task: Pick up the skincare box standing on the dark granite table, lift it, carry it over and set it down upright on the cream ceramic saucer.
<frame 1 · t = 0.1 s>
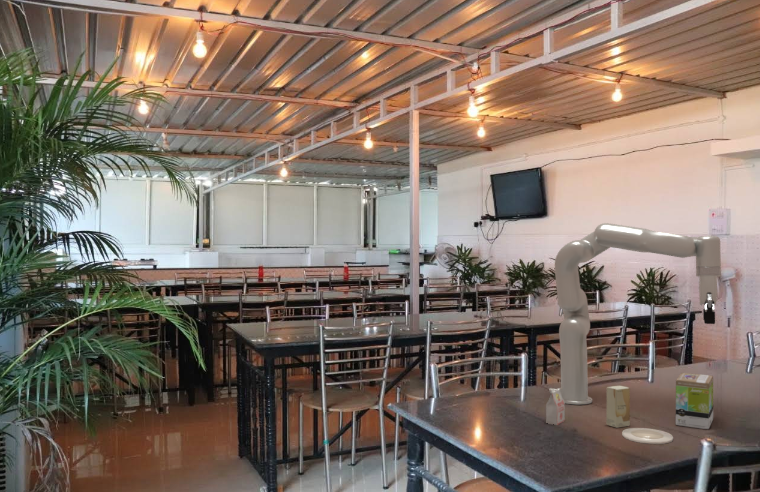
hand: (709, 322, 214), 31 cm above the table, tool pointing down, fingers open, 9 cm apart
white milk carton: (555, 422, 205), on the table
saucer: (647, 437, 187), on the table
skincare box: (618, 426, 200), on the table
tea box: (694, 423, 203), on the table
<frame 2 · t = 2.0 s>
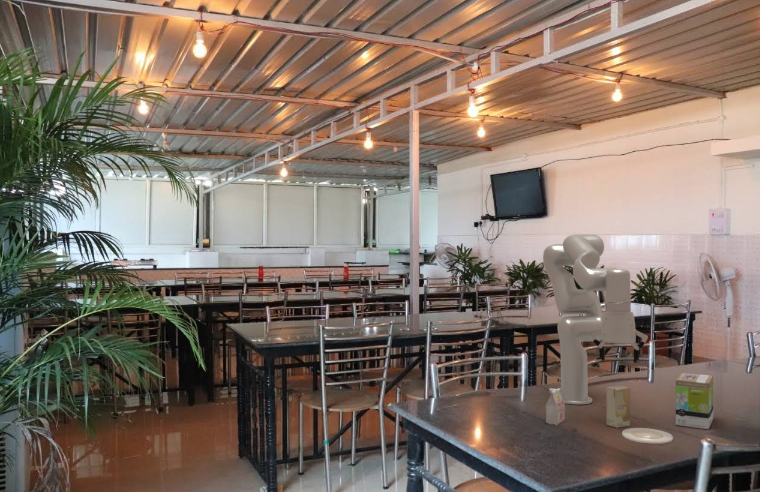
hand: (619, 361, 200), 20 cm above the table, tool pointing down, fingers open, 9 cm apart
nothing on the table moved.
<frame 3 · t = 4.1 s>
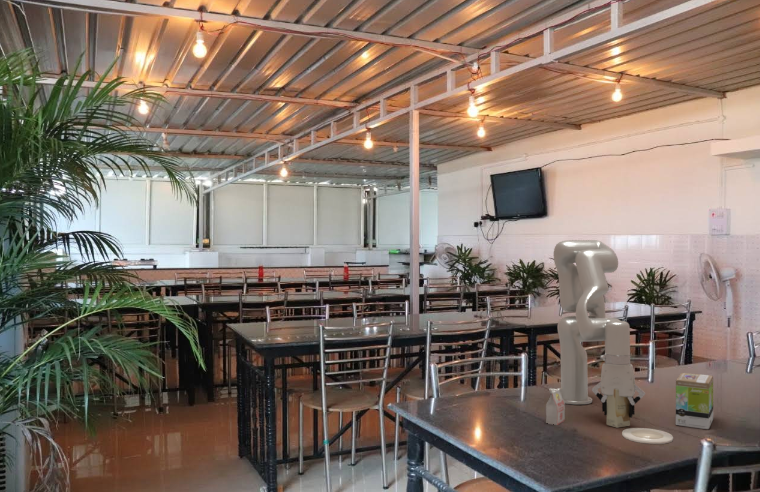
hand: (618, 415, 200), 3 cm above the table, tool pointing down, fingers closed on skincare box, 6 cm apart
skincare box: (618, 426, 200), on the table, touching gripper
everything else where it was.
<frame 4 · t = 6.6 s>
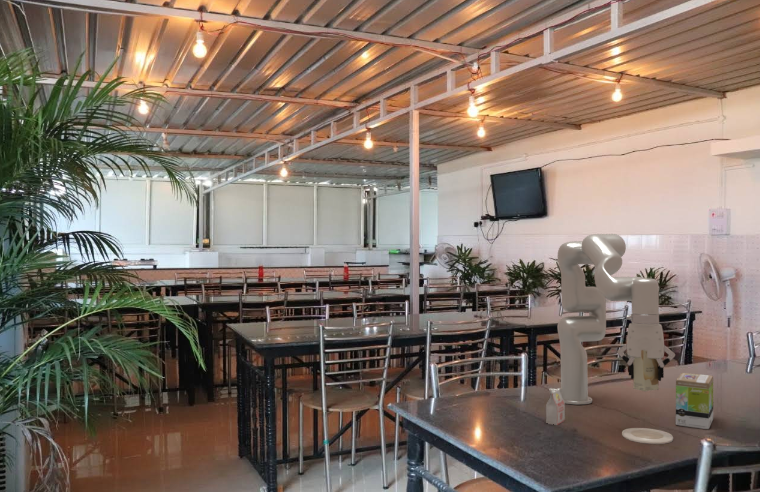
hand: (646, 378, 187), 17 cm above the table, tool pointing down, fingers closed on skincare box, 6 cm apart
skincare box: (646, 390, 187), point 14 cm above the table, touching gripper
everything else where it was.
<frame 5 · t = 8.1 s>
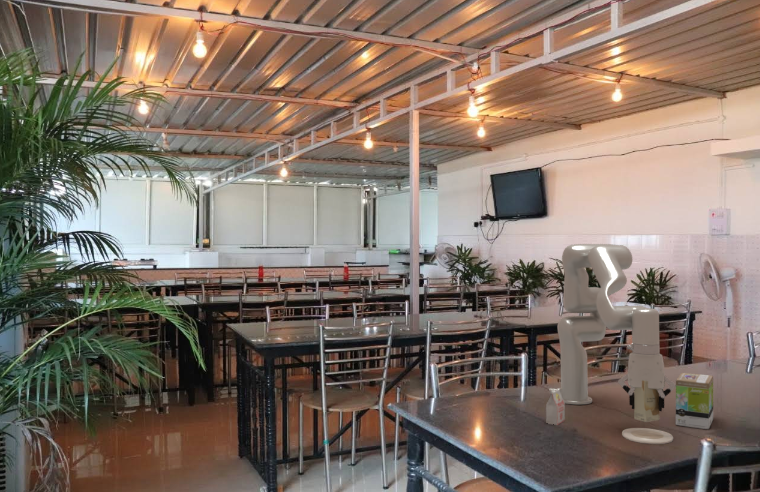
hand: (646, 408, 187), 8 cm above the table, tool pointing down, fingers closed on skincare box, 6 cm apart
skincare box: (647, 420, 187), point 5 cm above the table, touching gripper
everything else where it was.
when the fingers open (5 cm above the table, at t = 9.3 s): skincare box stays where it is, resting on saucer.
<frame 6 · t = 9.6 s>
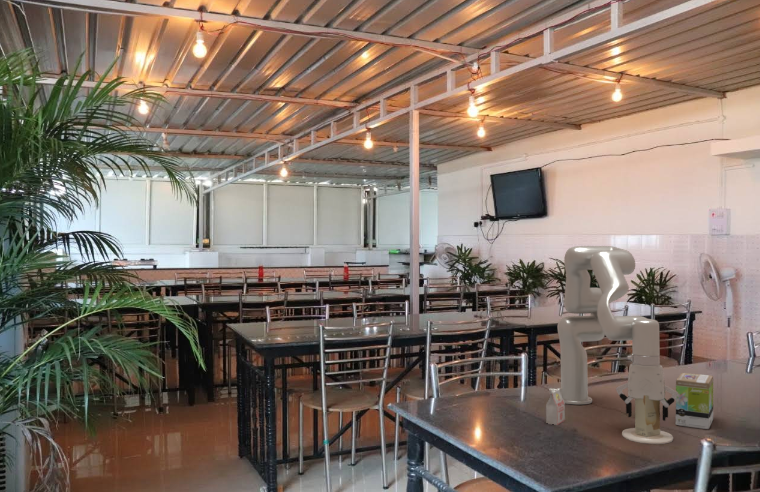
hand: (646, 417, 187), 6 cm above the table, tool pointing down, fingers open, 9 cm apart
skincare box: (647, 434, 187), point 1 cm above the table, touching saucer
everything else where it was.
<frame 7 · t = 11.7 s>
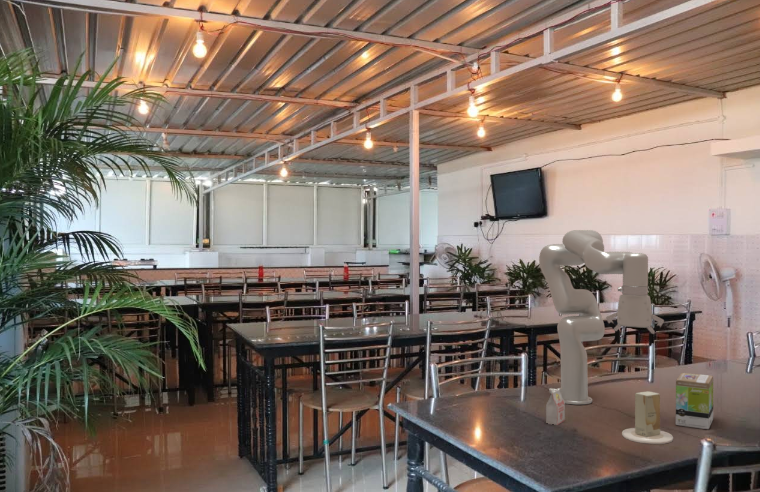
hand: (634, 344, 202), 26 cm above the table, tool pointing down, fingers open, 9 cm apart
nothing on the table moved.
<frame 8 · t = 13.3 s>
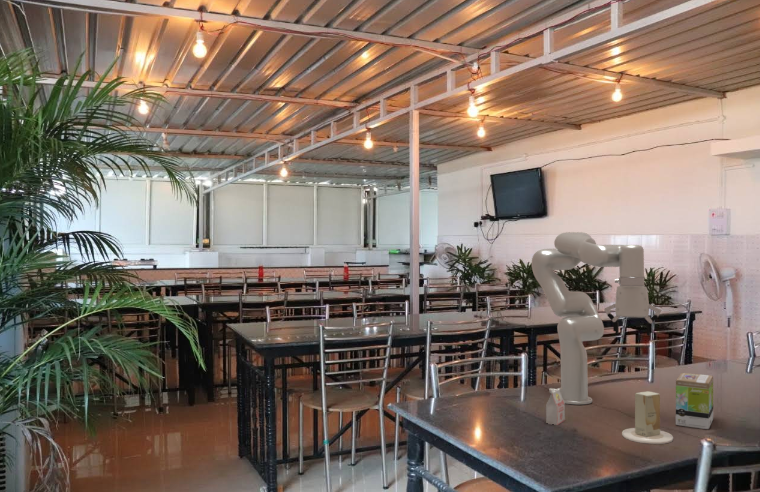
hand: (632, 334, 206), 28 cm above the table, tool pointing down, fingers open, 9 cm apart
nothing on the table moved.
at the end: skincare box 0.2 cm from the saucer (horizontally); skincare box tilted 0°; skincare box touching saucer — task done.
